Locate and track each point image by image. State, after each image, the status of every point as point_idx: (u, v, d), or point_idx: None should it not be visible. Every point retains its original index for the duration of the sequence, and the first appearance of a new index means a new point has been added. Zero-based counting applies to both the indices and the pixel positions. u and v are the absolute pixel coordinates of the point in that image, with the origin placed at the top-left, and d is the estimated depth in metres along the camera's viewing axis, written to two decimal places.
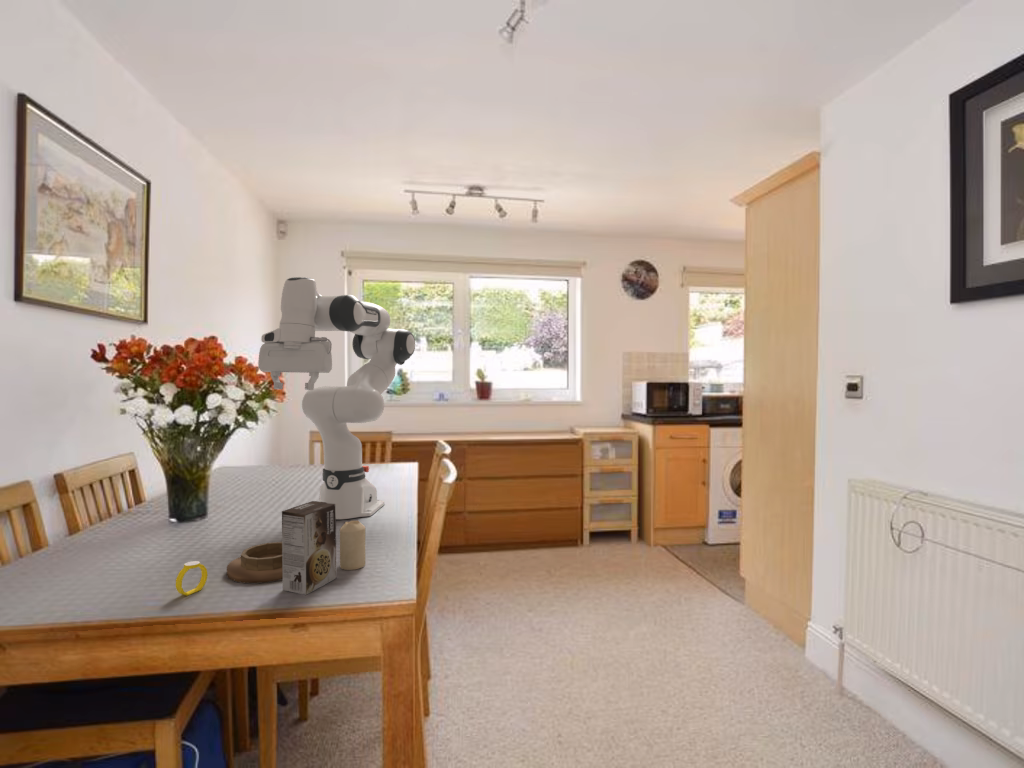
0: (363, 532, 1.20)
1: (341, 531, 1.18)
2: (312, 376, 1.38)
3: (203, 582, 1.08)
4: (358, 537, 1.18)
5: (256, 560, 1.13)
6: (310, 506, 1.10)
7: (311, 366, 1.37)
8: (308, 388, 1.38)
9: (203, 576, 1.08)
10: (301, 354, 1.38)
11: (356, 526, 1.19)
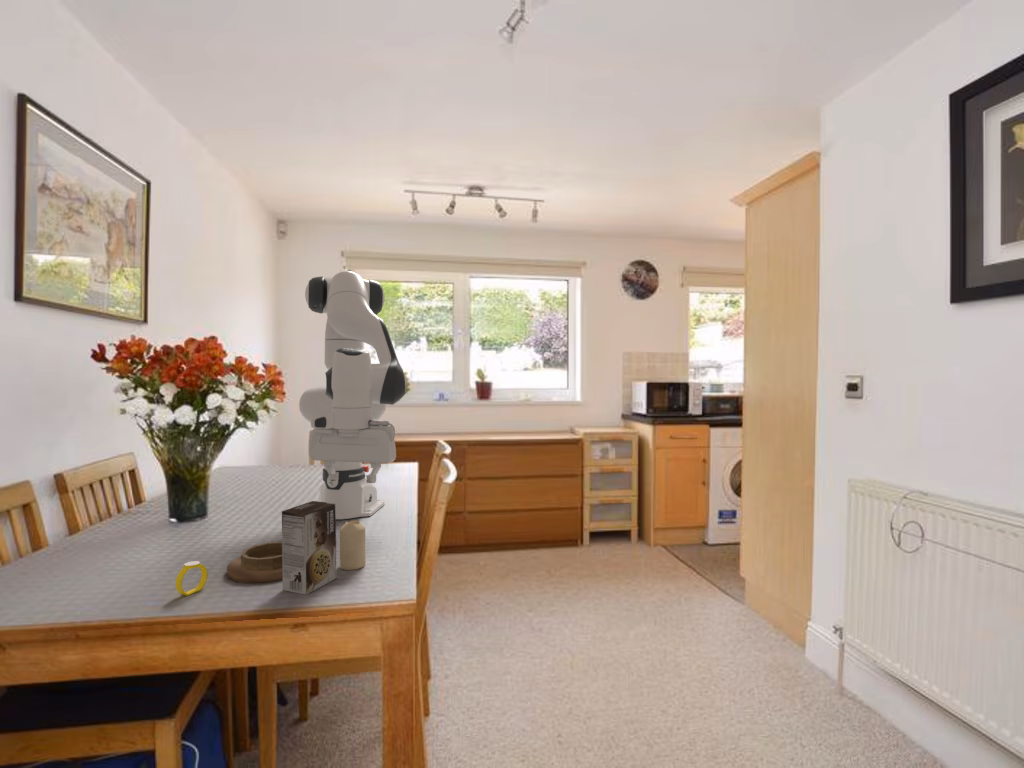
0: (363, 532, 1.20)
1: (341, 531, 1.18)
2: (374, 468, 1.17)
3: (203, 582, 1.08)
4: (358, 537, 1.18)
5: (256, 560, 1.13)
6: (310, 506, 1.10)
7: (373, 457, 1.17)
8: (370, 482, 1.18)
9: (203, 576, 1.08)
10: (360, 442, 1.18)
11: (356, 526, 1.19)
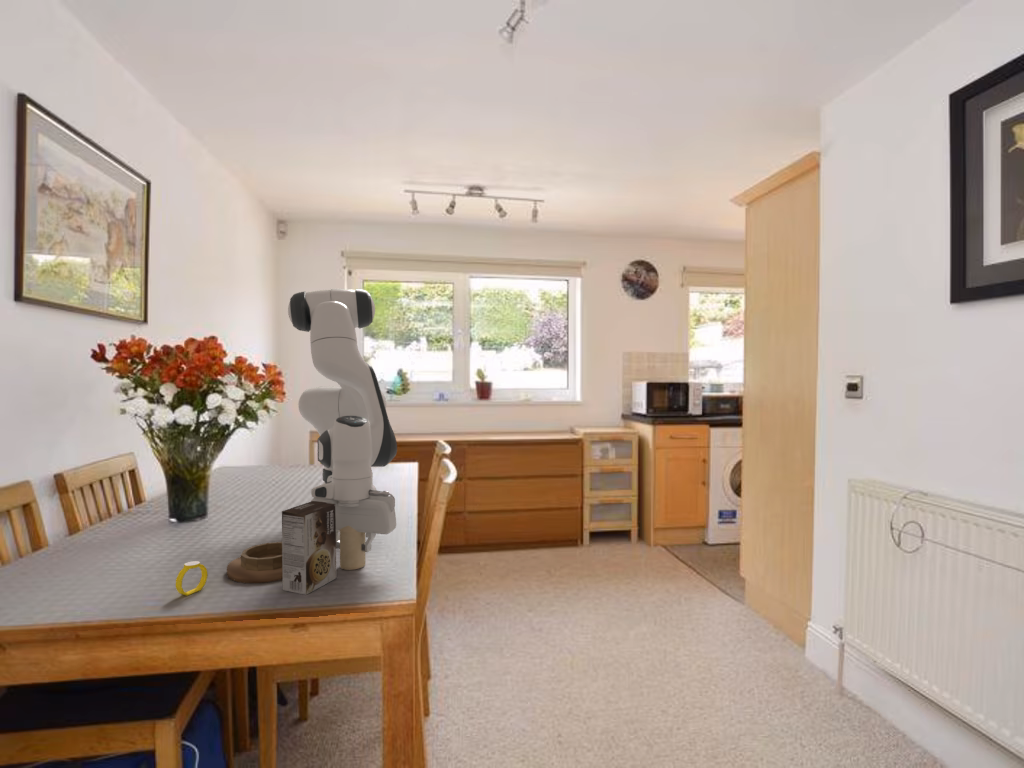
0: (363, 532, 1.20)
1: (341, 531, 1.18)
2: (369, 537, 1.18)
3: (203, 582, 1.08)
4: (358, 537, 1.18)
5: (256, 560, 1.13)
6: (310, 506, 1.10)
7: (374, 527, 1.17)
8: (365, 551, 1.19)
9: (203, 576, 1.08)
10: (360, 512, 1.18)
11: None
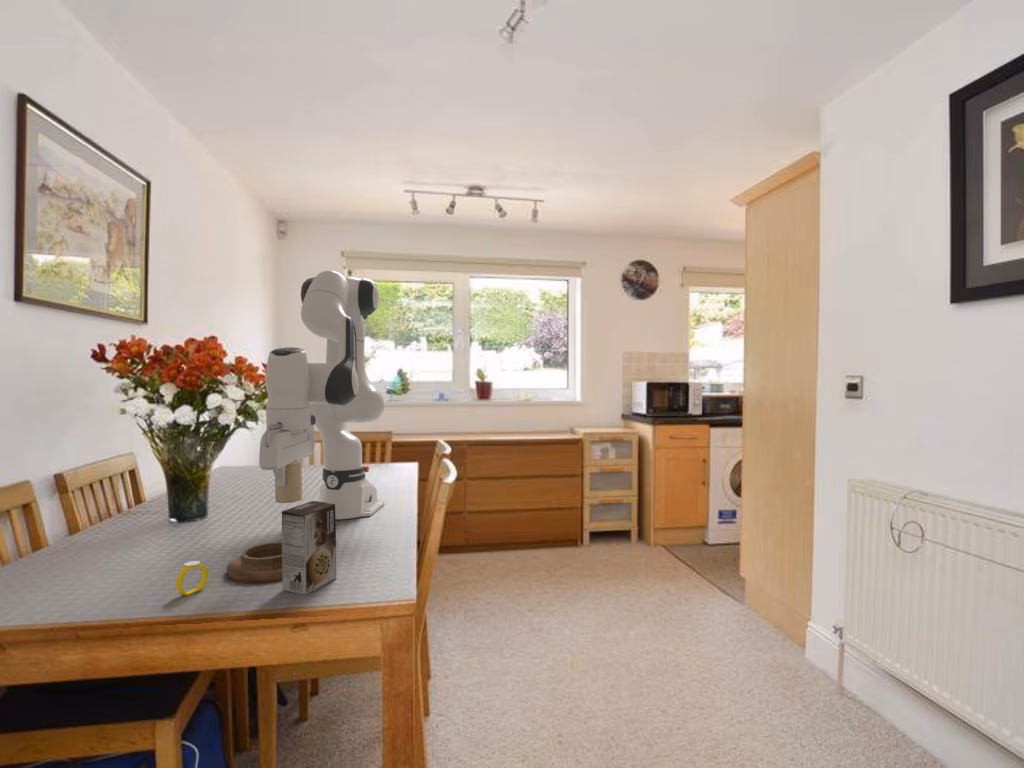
0: None
1: None
2: None
3: (203, 582, 1.08)
4: None
5: (256, 560, 1.13)
6: (310, 506, 1.10)
7: None
8: None
9: (203, 576, 1.08)
10: None
11: None
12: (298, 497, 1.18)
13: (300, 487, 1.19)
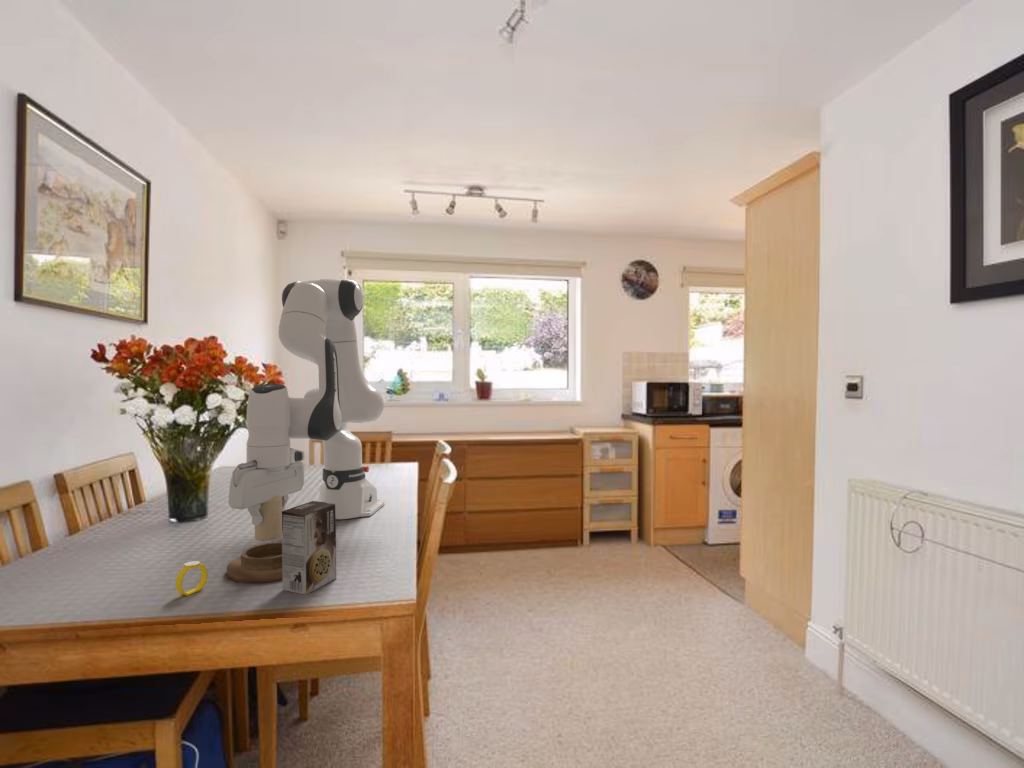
0: None
1: None
2: None
3: (203, 582, 1.08)
4: None
5: (256, 560, 1.13)
6: (310, 506, 1.10)
7: None
8: None
9: (203, 576, 1.08)
10: None
11: None
12: (275, 535, 1.17)
13: (278, 525, 1.18)
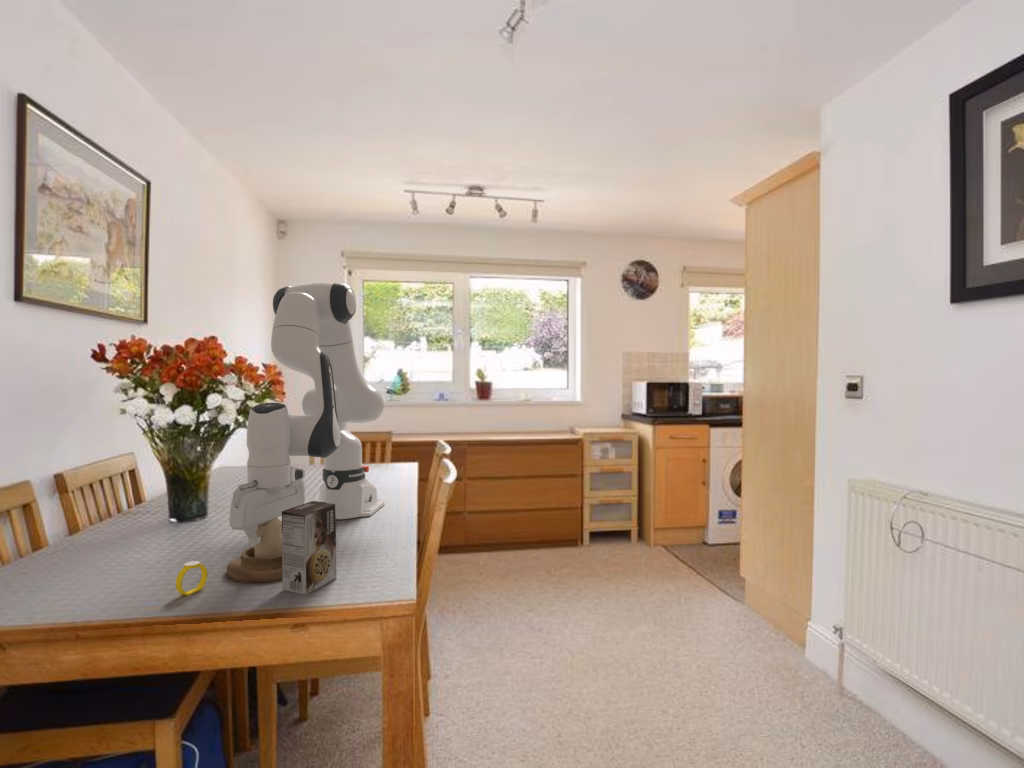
0: (259, 530, 1.16)
1: None
2: None
3: (203, 582, 1.08)
4: None
5: (256, 560, 1.13)
6: (310, 506, 1.10)
7: None
8: None
9: (203, 576, 1.08)
10: None
11: None
12: None
13: (278, 549, 1.18)
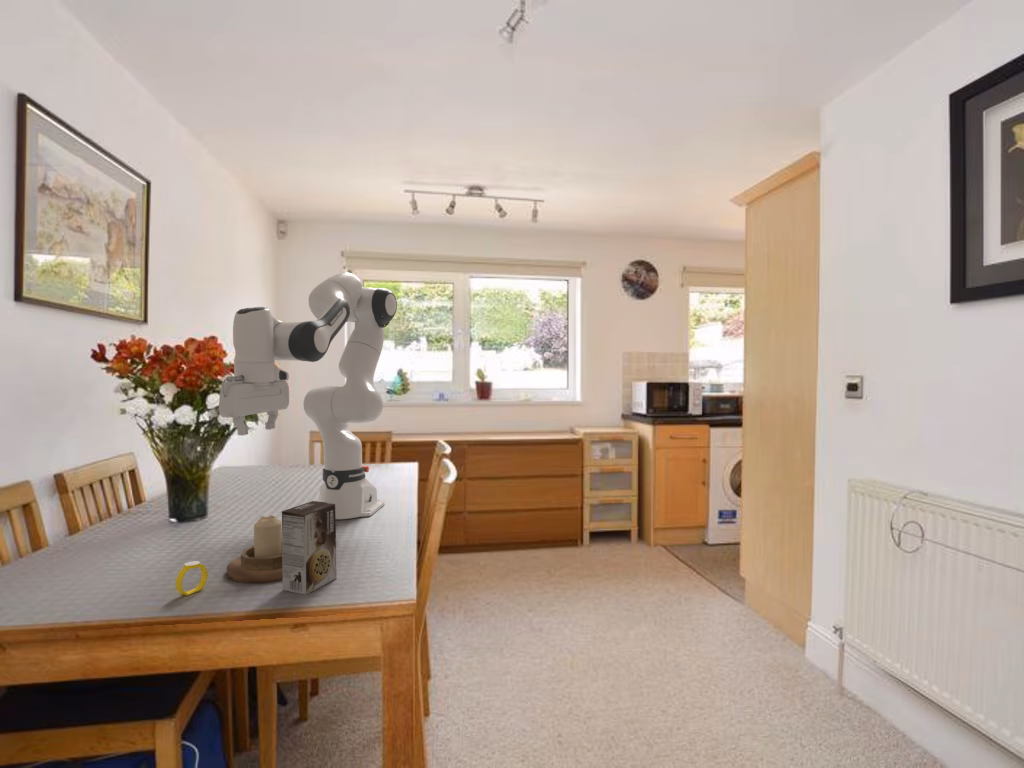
0: (259, 530, 1.16)
1: None
2: None
3: (203, 582, 1.08)
4: (254, 532, 1.16)
5: (256, 560, 1.13)
6: (310, 506, 1.10)
7: None
8: None
9: (203, 576, 1.08)
10: None
11: (259, 521, 1.17)
12: None
13: (278, 550, 1.18)
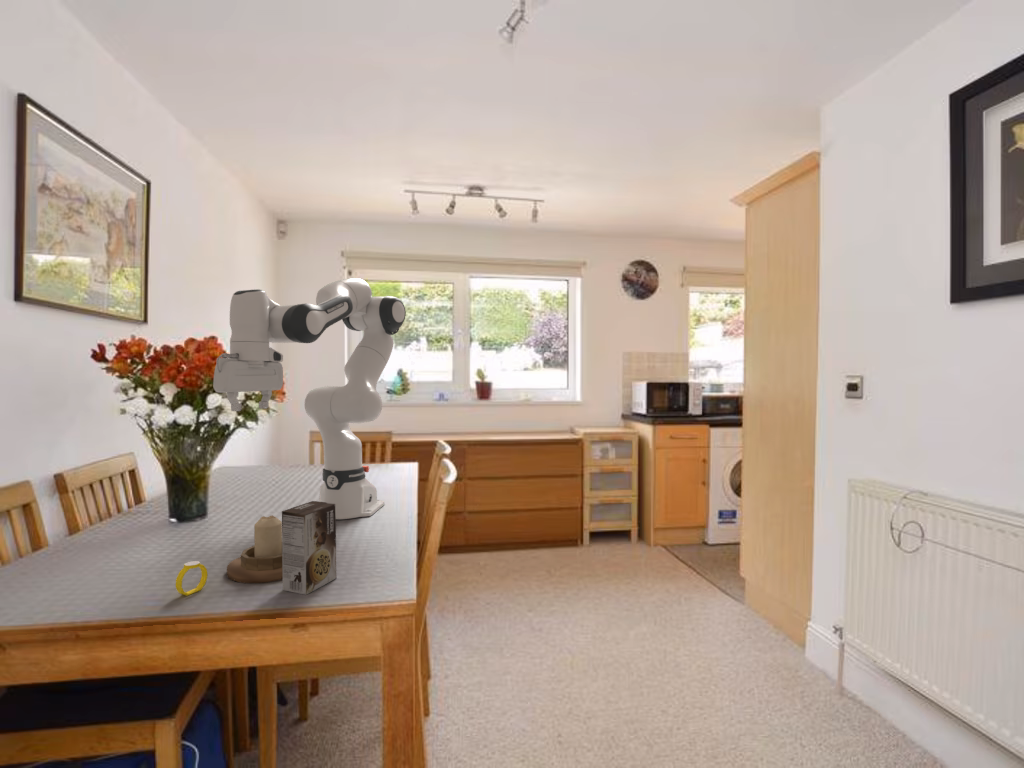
0: (259, 530, 1.16)
1: None
2: None
3: (203, 582, 1.08)
4: (255, 532, 1.17)
5: (256, 560, 1.13)
6: (310, 506, 1.10)
7: None
8: None
9: (203, 576, 1.08)
10: None
11: (259, 521, 1.17)
12: None
13: (278, 550, 1.18)
